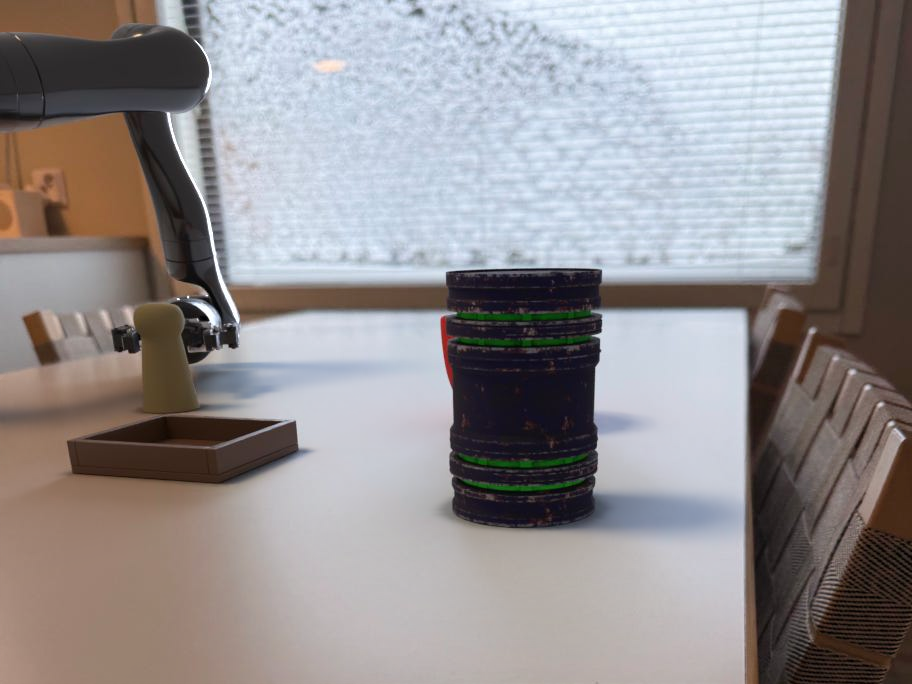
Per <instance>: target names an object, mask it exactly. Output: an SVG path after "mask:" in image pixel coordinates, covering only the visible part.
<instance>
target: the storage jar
mask: <svg viewBox="0 0 912 684" xmlns="http://www.w3.org/2000/svg"><path fill="white" fill-rule="evenodd" d="M602 283H603V269H601V268H590V267H588V268H587V267H524V268H523V267H521V268H519V267H517V268H484V269H483V268H482V269H460V270H450V271H449V270H448V271H445V286H446V287H447V288H448V296H447V297H446V299H445V300H446V311H448V312H454V313H452V315H451V314H447V315H448V316H446V317H445V320H446V334H447V335H448V336H452V337H456V338H452V339H449V340H448V341H447V343H448V350H447V352H446V353H447V354H448V364H449V365H450V366H451V368H452V385H453V390H452V419H453V421H452V422H453V423H452V425H450V427H449V448H450V449H451V451H450V452H449V455H448V457H449V461H448V462H449V463H448V464H449V472H450V474H451V475H452V477H451V487H452V488H453V497H452V500H451V505H452V506H451V507H452V512H453V513H454V514H455V515H456V516H457V517H459V518H461V519H463V520H466V521H469V522H472V523H476V524H482V525H488V526H495V527H505V528H538V527H550V526H557V525H564V524H569V523H574V522H577V521H579V520H583V519H585V518H586V517H589V516H591V515H592V514H593V513H594V512H595V509H596V508H595V507H596V499H595V496H594V488H595V487H596V476H595V475H596V473H597V472H598V468H599V466H598V465H599V453H598V450H596V449H597V448H598V441H599V437H598V434H599V433H598V432H599V431H598V430H599V428H598V426H597V425H596V423H595V401H596V400H595V398H596V397H595V395H596V367H597V366H598V365H599V363H600V361H601V353H602V351H603V350H602V349H601V338H600V337H598V335H600V334H602V333H603V328H602V327H603V319H602V318H603V313H599V312H595V310H599V309H600V310H601V308H602V294H600V285H601V284H602ZM596 335H597V336H596Z"/></svg>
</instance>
